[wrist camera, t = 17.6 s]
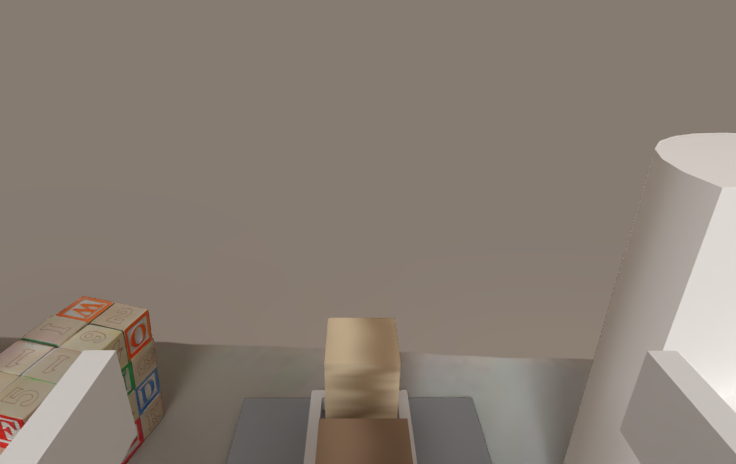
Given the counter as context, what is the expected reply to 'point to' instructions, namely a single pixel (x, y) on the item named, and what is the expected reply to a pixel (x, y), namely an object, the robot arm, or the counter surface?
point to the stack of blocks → (64, 345)
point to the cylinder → (668, 290)
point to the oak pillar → (361, 368)
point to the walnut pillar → (363, 441)
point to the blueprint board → (301, 418)
